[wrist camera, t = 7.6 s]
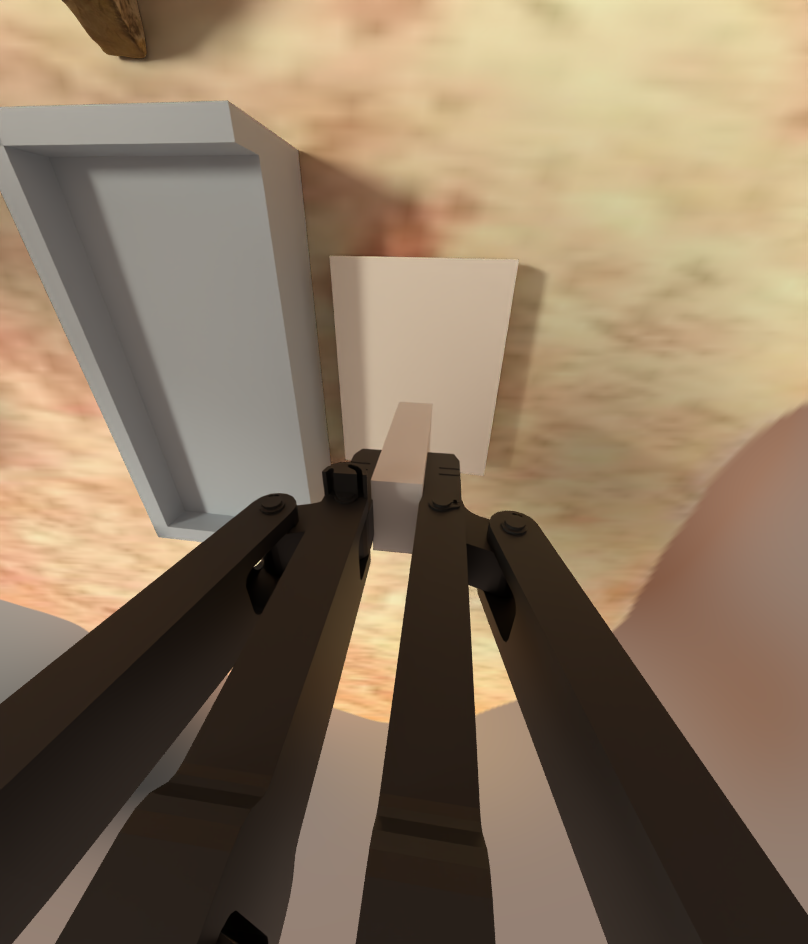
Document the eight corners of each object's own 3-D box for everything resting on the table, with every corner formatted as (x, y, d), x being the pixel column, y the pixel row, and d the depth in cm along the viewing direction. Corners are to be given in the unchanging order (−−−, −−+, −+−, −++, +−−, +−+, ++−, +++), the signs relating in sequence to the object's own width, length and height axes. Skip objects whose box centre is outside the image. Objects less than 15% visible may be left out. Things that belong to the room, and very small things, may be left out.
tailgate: (345, 459, 28) (484, 476, 26) (329, 255, 21) (519, 259, 19) (350, 452, 29) (483, 468, 27) (336, 255, 22) (517, 259, 20)
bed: (212, 487, 33) (158, 537, 27) (104, 152, 21) (-38, 108, 15) (334, 499, 32) (306, 553, 26) (298, 150, 19) (227, 100, 14)
